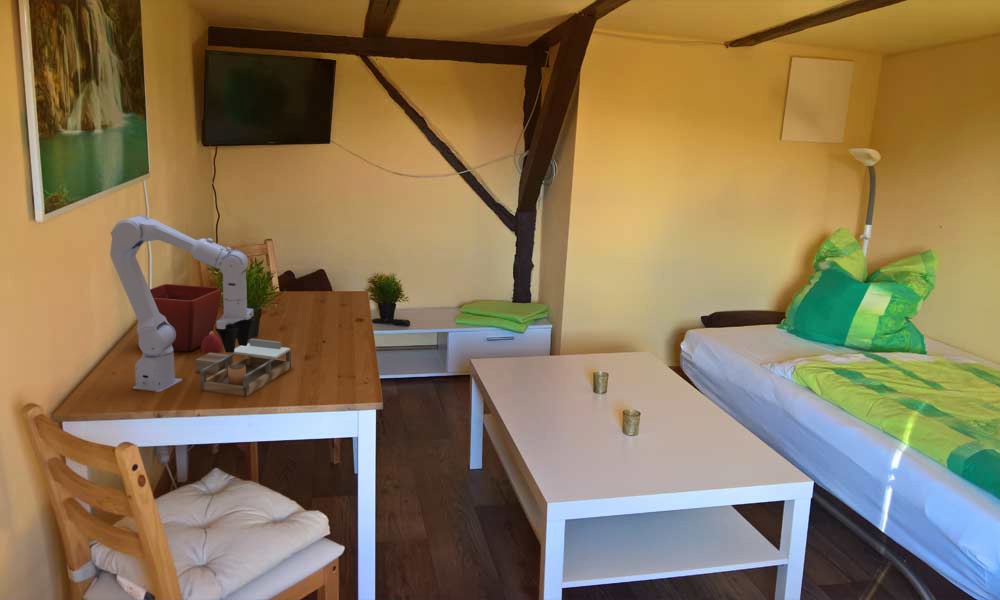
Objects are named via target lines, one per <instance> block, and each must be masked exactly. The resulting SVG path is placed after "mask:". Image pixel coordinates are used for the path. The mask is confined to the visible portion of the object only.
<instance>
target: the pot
mask: <svg viewBox="0 0 1000 600" xmlns="http://www.w3.org/2000/svg"><path fill="white" fill-rule="evenodd" d="M233 364H234V363H233ZM244 375H246V366H245V365H242V364H234V365H230V366H229V367H228V383H229V384H232V385H240V386H243V376H244Z"/></svg>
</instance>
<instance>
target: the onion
mask: <svg viewBox="0 0 1000 600" xmlns="http://www.w3.org/2000/svg"><path fill="white" fill-rule="evenodd" d="M200 349H201V351H202V353H203V354H204V355H206V354H208V353H218V354H221V351H222V349H223V342H222V340H221V337H220V336H219V335H216V334H215V332H214V330H213V331H211V332H210V333H209V335H208V336H206V337H205V338H204V339H203V341H202V344H201V346H200Z"/></svg>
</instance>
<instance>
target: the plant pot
mask: <svg viewBox="0 0 1000 600" xmlns="http://www.w3.org/2000/svg"><path fill="white" fill-rule="evenodd" d="M218 288H219V287H215V286H214V287H213V286H200V285H186V284H172V283H165V284H160V285H159V286H155V287H152V288H149V289H150V292H151V294H152V297H153V299H154V301H155V304H156V306H157V308H158V311H159V313H160V314H162V315H163V316H165V317H166V320H167V322H168V323H169V324H170V325H171V326H172V327H173V328H174V329H175V332H176V338H175V340H174V342H173V343H172V347H173V351H180V352H191V351H193V350H195V349H198V348H199V347H201V344H202V341H203V339H204V338H205V337H206V336H208V335H209V333H210V332H211V331H213V332H214V329H215V326H216V321H217V317H218V313H219V309H220V304H221V299H222V298H221V297H222V292H221V290H220V289H218Z"/></svg>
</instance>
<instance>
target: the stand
mask: <svg viewBox="0 0 1000 600" xmlns="http://www.w3.org/2000/svg"><path fill="white" fill-rule="evenodd" d="M229 355H230V354H224V353H219V354H218V353H208V354H206V355H205V354H204V355H202V356H199V357H198V358H196V359H195V360H194V361H195V362H194V364H195V365H194V366H195V373H199V374H200V371H201V370H202V369H204V368H206V367H208V366H210V365H212V364H214V363H216V362H217V361H219V360H221V359H223V358H225V357H227V356H229ZM233 359H234V358H233V356H231V357H230V363H231V365H232V364H234V363H233V362H234V361H233ZM223 369H225V360H224V361H222V362H220V363H218V364H216V365H214V366H213V367H211V368H209V369H207V370H206V375H214V374H216V373H218V372H219V371H221V370H223Z"/></svg>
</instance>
